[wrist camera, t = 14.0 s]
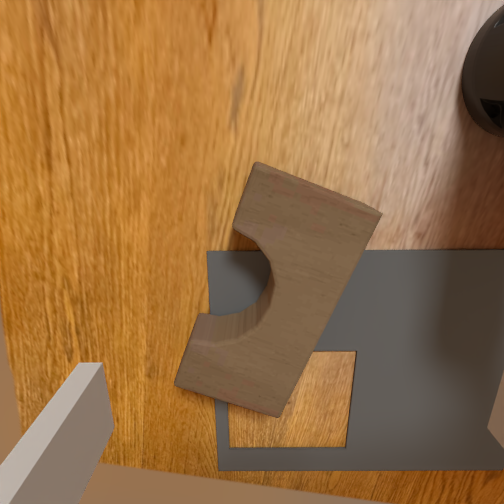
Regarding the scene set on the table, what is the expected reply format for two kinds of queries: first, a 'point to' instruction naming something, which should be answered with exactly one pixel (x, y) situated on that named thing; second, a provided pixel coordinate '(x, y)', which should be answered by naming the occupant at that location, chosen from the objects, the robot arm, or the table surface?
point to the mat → (394, 360)
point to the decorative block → (279, 291)
